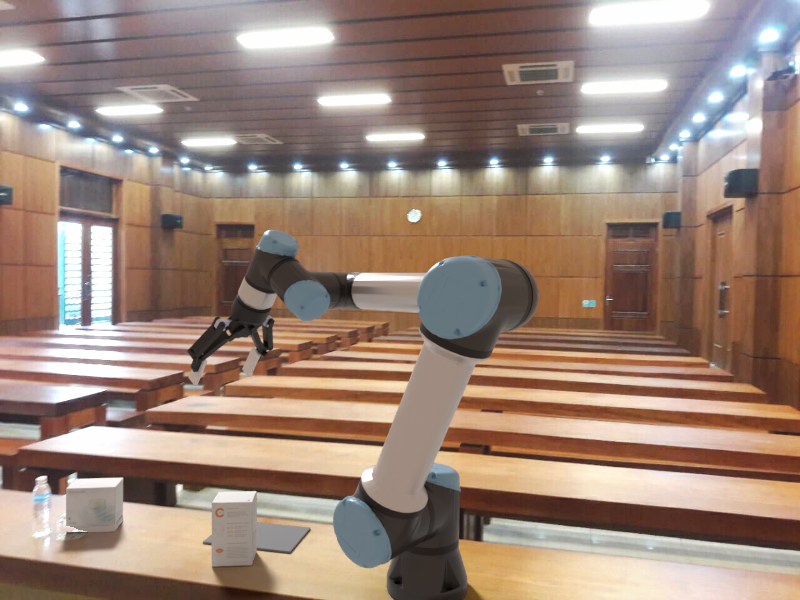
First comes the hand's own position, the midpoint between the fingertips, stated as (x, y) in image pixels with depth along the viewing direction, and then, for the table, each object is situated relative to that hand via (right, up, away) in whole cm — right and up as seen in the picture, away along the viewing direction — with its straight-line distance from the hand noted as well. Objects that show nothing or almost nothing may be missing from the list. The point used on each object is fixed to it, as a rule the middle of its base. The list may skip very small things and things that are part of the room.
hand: (220, 377), depth 128 cm
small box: (+6, -36, -9) cm, 38 cm away
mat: (+8, -36, +2) cm, 37 cm away
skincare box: (-30, -35, +5) cm, 47 cm away
